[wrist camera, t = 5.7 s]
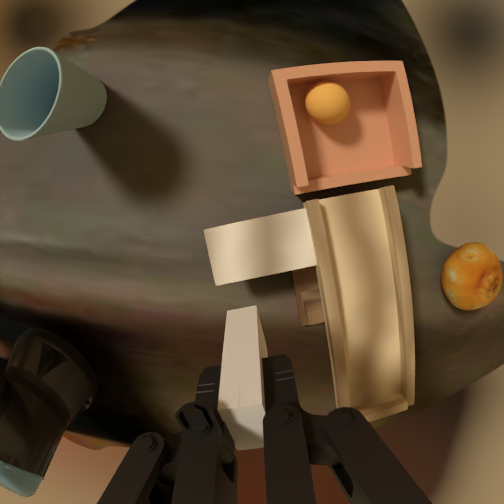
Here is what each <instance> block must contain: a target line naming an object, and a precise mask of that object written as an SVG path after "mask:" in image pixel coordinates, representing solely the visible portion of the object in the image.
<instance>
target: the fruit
mask: <svg viewBox="0 0 504 504" xmlns="http://www.w3.org/2000/svg"><path fill="white" fill-rule="evenodd" d="M502 279H503V276H502V269H501V265H500V262H499V260H498V258H497V256H496V254H495V253H494V252H493V251H492V250H491V249H490V248H489V247H487V246H486V245H484V244H482V243H476V242H472V243H466V244H464V245H462V246H460V247H459V248H458V249H456V250H455V251H454V252H452V253H451V254H450V256H449V257H448V258H447V259H446V261H445V263H444V265H443V268H442V272H441V284H442V288H443V291H444V293H445V295H446V297H447V298H448V300H449V301H450V302H451V303H452V304H453V305H454V306H455V307H457V308H459V309H462V310H475V309H479V308H482V307H484V306H486V305H488V304H489V303H490V302H491V301H492V300H493V299H494V298H495V297H496V295H497V294H498V292H499V290H500V287H501V283H502Z"/></svg>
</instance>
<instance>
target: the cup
mask: <svg viewBox="0 0 504 504" xmlns="http://www.w3.org/2000/svg"><path fill="white" fill-rule="evenodd" d="M106 101H107V92H106V89H105V86H104V85H103V83H101V82H100V81H99V80H98V79H97V78H95V77H94V76H92V75H91V74H89V73H87V72H86V71H84V70H83V69H81V68H80V67H78V66H76V65H75V64H73V63H71V62H70V61H68V60H67V59H65V58H63V57H62V56H60V55H59V54H57V53H56V52H54V51H52V50H51V49H49V48H45V47H36V48H32V49H30V50H28V51H26V52H24V53H23V54H21V55H20V56H19V57H18V58H17V59H16V60H15V61H14V62H13V63H12V64H11V65H10V67H9V68H8V70H7V71H6V73H5V74H4V76H3V78H2V80H1V83H0V130H1V131H2V133H3V134H4V135H5V136H6V137H8V138H9V139H11V140H15V141H22V140H27V139H31V138H35V137H39V136H43V135H47V134H51V133H56V132H61V131H66V130H71V129H76V128H82V127H85V126H88V125H91V124H93V123H94V122H95V121H96V120H97V119H98V118H99V117H100V116H101V114H102V113H103V111H104V109H105V106H106Z"/></svg>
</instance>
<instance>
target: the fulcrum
mask: <svg viewBox="0 0 504 504" xmlns="http://www.w3.org/2000/svg"><path fill="white" fill-rule="evenodd" d="M291 271H292V277H293V282H294V288H295V294H296V300H297V305H298V311H299V317H300V323H301V326H305V325H314V324H318V323H323V322H325V319H324V313H323V307H322V301H321V295H320V289H319V284H318V278H317V273H316V267H315V266H310V267H305V268H301V269H296V270H291Z"/></svg>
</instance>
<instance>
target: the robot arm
mask: <svg viewBox="0 0 504 504" xmlns="http://www.w3.org/2000/svg"><path fill="white" fill-rule="evenodd" d="M97 393H98V381H97V377H96V375H95V372H94V370H93V369H92V367H91V365H90V364H89V362H88V361H87V360H86V358H85V357H84V356H83V355H82V354H81V353H80V352H79V351H78V349H76V348H75V347H74V346H73V345H72V344H71V343H70V342H68V341H67V340H66V339H64V338H63V337H61V336H60V335H58V334H56V333H54V332H52V331H50V330H47V329H43V328H30V329H27V330H26V331H25V332H24V333H23V334H22V335H21V336H20V337H19V338H18V339H17V341H16V343H15V345H14V348H13V351H12V353H11V356H10V359H9V362H8V365H7V368H6V371H5V372H4V373H3V372H2V370H1V369H0V485H1V486H3V487H4V488H6V489H8V490H10V491H12V492H14V493H16V494H18V495H20V496H24V497H30V496H32V495H34V494H35V492H36V490H37V488H38V486H39V484H40V483H41V481H42V480H44V476H45V474H46V471H47V469H48V467H49V464H50V462H51V460H52V458H53V455H54V453H55V451H56V449H57V447H58V444H59V442H60V440H61V438H62V436H63V434H64V432H65V430H66V428H67V426H68V424H69V423H71V422H72V421H73V420H74V419H75V418H77V417H78V416H79V415H80V414H81V413H83V412H84V411H85V410H86V409H88V408H89V407H90V406H91V404H92V403H93V401H94V399H95V397H96V395H97ZM175 417H176V419H177V420H178V422H179V423H180V425H181V427H182V428H183V431H181V432H179V433H177V434H174V435H170V436H167V437H164V438H163V437H162V436H161V435H160V434H158V433H155V432H147V433H144V434H142V435H140V436H138V437H137V438H136V439H135V441H134V442H133V443H132V445H131V447H130V449H129V450H128V452H127V454H126V455H125V457H124V459H123V461H122V462H121V464H120V465H119V467H118V469H117V471H116V473H115V474H114V476H113V478H112V479H111V481H110V483H109V484H108V486H107V488H106V489H105V491H104V493H103V494H102V496H101V498H100V500H99V501H98V503H97V504H237V466H238V465H237V464H238V462H237V458H236V456H235V454H234V445H235V446H236V448H237V450H246V449H255V448H262V447H264V459H265V479H266V495H267V496H266V497H267V504H317V503H316V497H315V491H314V485H313V479H312V473H311V467H310V464H314V465H328V466H329V467H330V469H331V471H332V473H333V474H334V476H335V477H336V479H337V481H338V483H339V485H340V486H341V488H342V490H343V491H344V493H345V495H346V496H347V498H348V500H349V502H350V503H351V504H432V503H431V501H430V500H429V499H428V498H427V497H426V495H425V494H424V493H423V491H422V490H421V489H420V488H419V486H418V485H417V484H416V482H415V481H414V480H413V479H412V477H411V476H410V475H409V474H408V472H407V471H406V470H405V468H404V467H403V466H402V465H401V463H400V462H399V461H398V460H397V458H396V457H395V456H394V454H393V453H392V452H391V450H390V449H389V448H388V447H387V445H386V444H385V443H384V441H383V440H382V439H381V438H380V436H379V435H378V434H377V433H376V431H375V430H374V429H373V427H372V426H371V425H370V423H369V422H368V421H367V419H366V418H365V417H364V416H363V414H362V413H361V412H360V411H358V410H357V409H355V408H352V407H341V408H337V409H334V410H333V411H331V412H330V413H329V414H328V415H327V416H324V415H312V414H310V413H307V412H306V411H304V410H303V409H302V408H301V407H300V404H299V400H298V394H297V389H296V383H295V378H294V373H293V368H292V363H291V360H290V359H289V358H288V357H287V356H286V355H285V354H281V355H276V356H271V357H268V356H267V347H266V342H265V338H264V334H263V330H262V326H261V322H260V318H259V314H258V310H257V306H256V305H255V306H250V307H245V308H240V309H235V310H229V311H227V318H226V327H225V337H224V347H223V357H222V365H221V366H214V367H207V368H205V369H204V370H203V372H202V373H201V375H200V376H199V382H198V388H197V393H196V399H195V402H191V403H187V404H186V405H184V406H182V407H181V408H180V409H179V410H178V411H177V413H176V415H175Z"/></svg>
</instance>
